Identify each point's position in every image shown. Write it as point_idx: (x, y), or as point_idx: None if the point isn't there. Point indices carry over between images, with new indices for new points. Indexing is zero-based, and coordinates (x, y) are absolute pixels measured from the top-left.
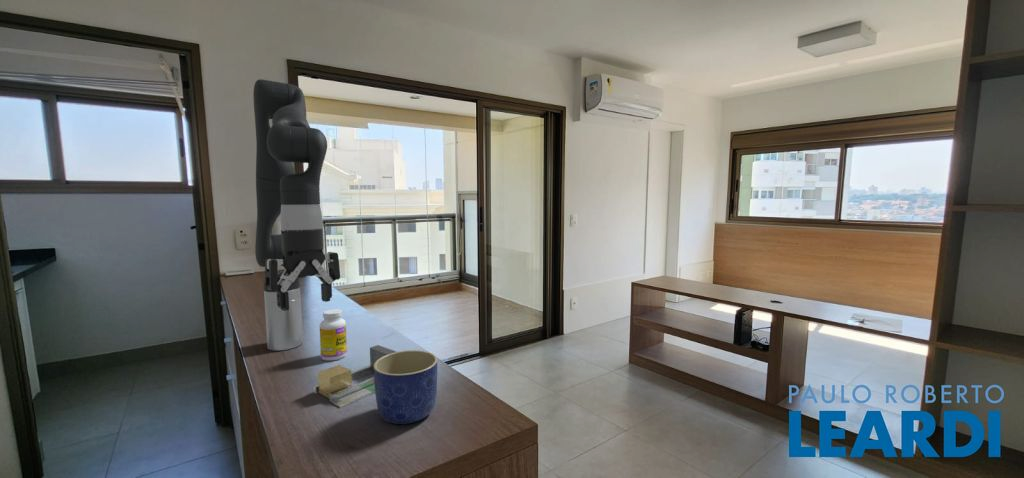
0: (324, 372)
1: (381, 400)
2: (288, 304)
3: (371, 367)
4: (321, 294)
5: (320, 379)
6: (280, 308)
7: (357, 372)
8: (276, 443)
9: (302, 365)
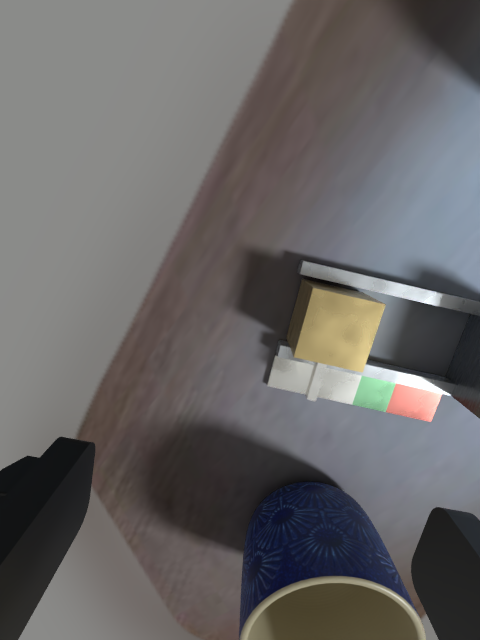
0: (318, 310)
1: (244, 558)
2: (56, 560)
3: (476, 314)
4: (472, 551)
5: (306, 297)
6: (59, 439)
7: (429, 303)
8: (108, 376)
9: (450, 28)
